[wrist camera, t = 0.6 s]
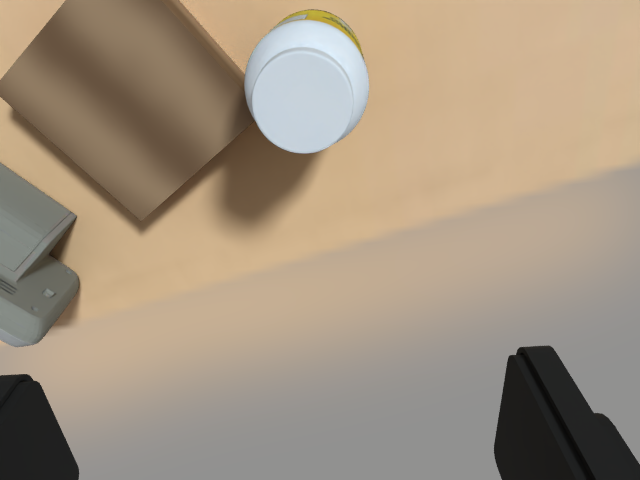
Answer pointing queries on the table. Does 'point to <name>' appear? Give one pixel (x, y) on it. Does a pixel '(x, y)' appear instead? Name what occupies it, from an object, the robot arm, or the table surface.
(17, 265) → the digital clock
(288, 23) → the pill bottle
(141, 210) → the walnut block
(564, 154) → the table surface
